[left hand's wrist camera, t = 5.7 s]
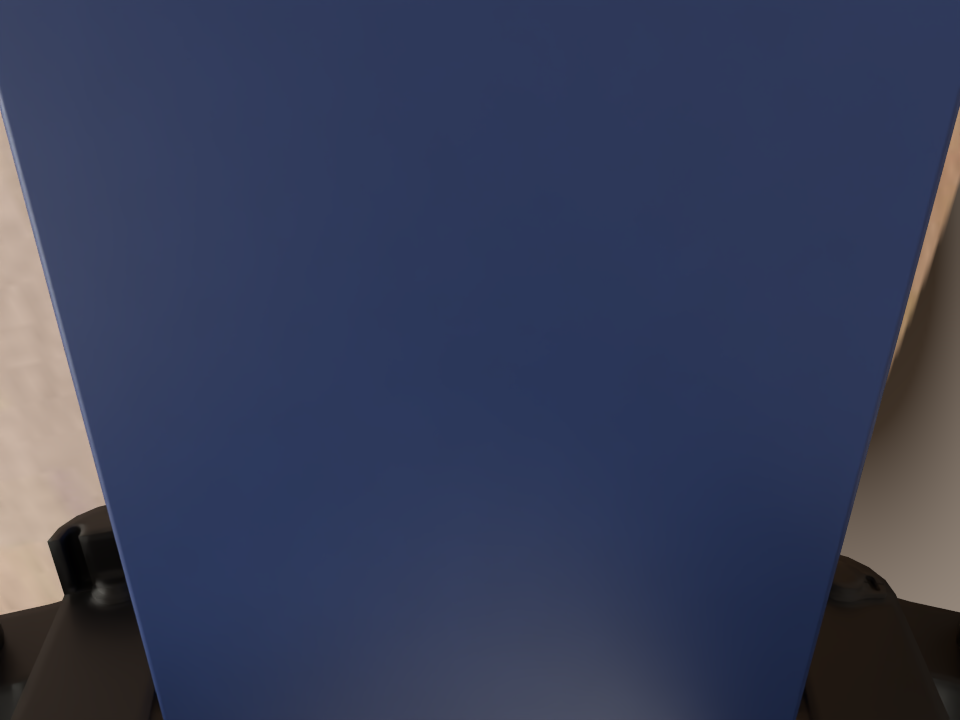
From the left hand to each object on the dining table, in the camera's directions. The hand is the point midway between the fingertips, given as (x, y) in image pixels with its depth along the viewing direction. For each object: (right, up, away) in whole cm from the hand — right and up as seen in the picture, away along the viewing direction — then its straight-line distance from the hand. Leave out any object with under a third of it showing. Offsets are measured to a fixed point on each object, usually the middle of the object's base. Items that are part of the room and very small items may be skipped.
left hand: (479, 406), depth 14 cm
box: (0, +7, -2) cm, 7 cm away
